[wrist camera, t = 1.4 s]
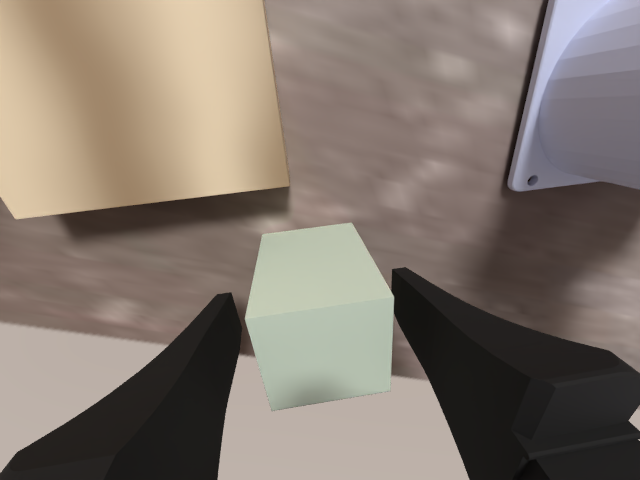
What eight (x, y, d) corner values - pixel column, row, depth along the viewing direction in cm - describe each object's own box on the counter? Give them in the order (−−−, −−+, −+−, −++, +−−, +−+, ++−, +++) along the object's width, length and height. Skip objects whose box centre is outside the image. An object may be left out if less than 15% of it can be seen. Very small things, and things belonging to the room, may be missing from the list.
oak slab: (259, -36, 9) (251, -74, 7) (289, 174, 12) (289, 186, 10) (-63, -12, 8) (-160, -46, 6) (58, 202, 11) (15, 219, 10)
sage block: (351, 222, 13) (394, 297, 8) (354, 293, 15) (390, 391, 10) (262, 233, 13) (244, 318, 8) (277, 304, 15) (271, 411, 10)
